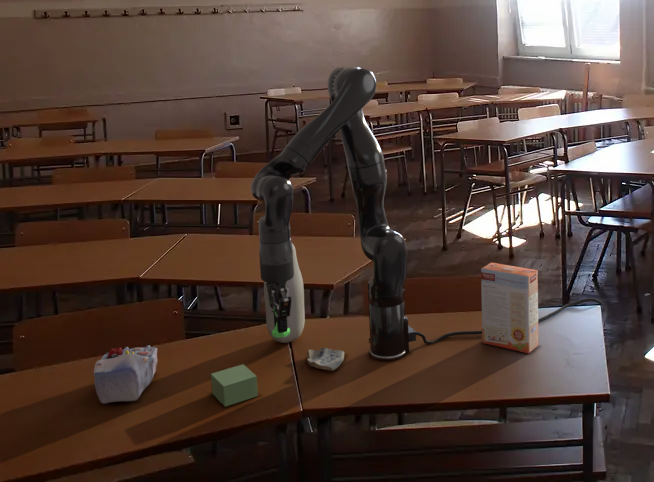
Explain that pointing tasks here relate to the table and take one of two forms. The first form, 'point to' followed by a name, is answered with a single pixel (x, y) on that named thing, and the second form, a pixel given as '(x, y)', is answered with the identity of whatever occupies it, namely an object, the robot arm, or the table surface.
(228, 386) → the green block
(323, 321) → the table surface
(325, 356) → the ceramic fragment
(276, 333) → the game piece
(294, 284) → the white bottle
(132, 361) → the cell model
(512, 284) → the cracker box
